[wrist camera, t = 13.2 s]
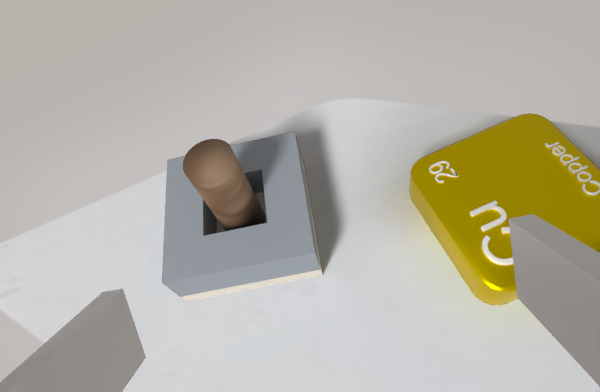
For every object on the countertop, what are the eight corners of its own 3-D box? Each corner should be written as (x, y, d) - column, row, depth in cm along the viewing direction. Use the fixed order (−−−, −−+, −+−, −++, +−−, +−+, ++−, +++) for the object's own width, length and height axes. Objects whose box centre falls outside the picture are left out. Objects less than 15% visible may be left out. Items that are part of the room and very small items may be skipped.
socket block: (303, 162, 49) (294, 131, 44) (322, 275, 42) (314, 252, 37) (187, 186, 50) (167, 159, 46) (186, 301, 43) (162, 282, 38)
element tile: (632, 246, 38) (661, 221, 34) (484, 314, 38) (496, 297, 34) (525, 133, 46) (538, 102, 42) (401, 187, 46) (402, 161, 42)
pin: (263, 199, 46) (232, 134, 36) (267, 235, 43) (234, 176, 34) (224, 207, 46) (183, 145, 37) (225, 243, 44) (182, 187, 34)
